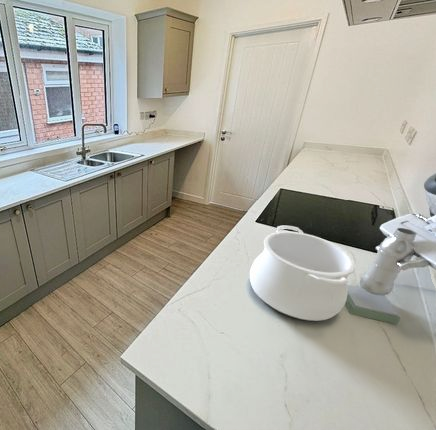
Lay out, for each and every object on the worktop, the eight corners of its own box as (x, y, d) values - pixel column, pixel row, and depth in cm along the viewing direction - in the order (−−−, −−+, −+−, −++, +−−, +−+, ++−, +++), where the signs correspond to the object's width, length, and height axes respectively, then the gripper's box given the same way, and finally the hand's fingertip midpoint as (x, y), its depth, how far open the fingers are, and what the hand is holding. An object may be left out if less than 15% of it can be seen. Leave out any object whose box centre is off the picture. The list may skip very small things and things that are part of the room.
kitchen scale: (379, 298, 80) (383, 291, 79) (396, 324, 72) (401, 316, 70) (337, 289, 84) (341, 282, 82) (349, 313, 75) (354, 306, 74)
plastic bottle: (353, 280, 79) (383, 223, 70) (381, 286, 77) (416, 227, 68) (362, 295, 74) (396, 235, 65) (392, 301, 72) (432, 240, 63)
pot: (237, 263, 96) (247, 222, 88) (310, 270, 93) (327, 227, 85) (262, 326, 72) (280, 277, 64) (363, 339, 68) (395, 288, 60)
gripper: (409, 203, 73) (356, 231, 79) (492, 244, 55) (415, 276, 61) (419, 218, 74) (366, 244, 80) (503, 262, 57) (427, 292, 62)
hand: (388, 258), depth 70 cm, fingers closed on plastic bottle, 6 cm apart
